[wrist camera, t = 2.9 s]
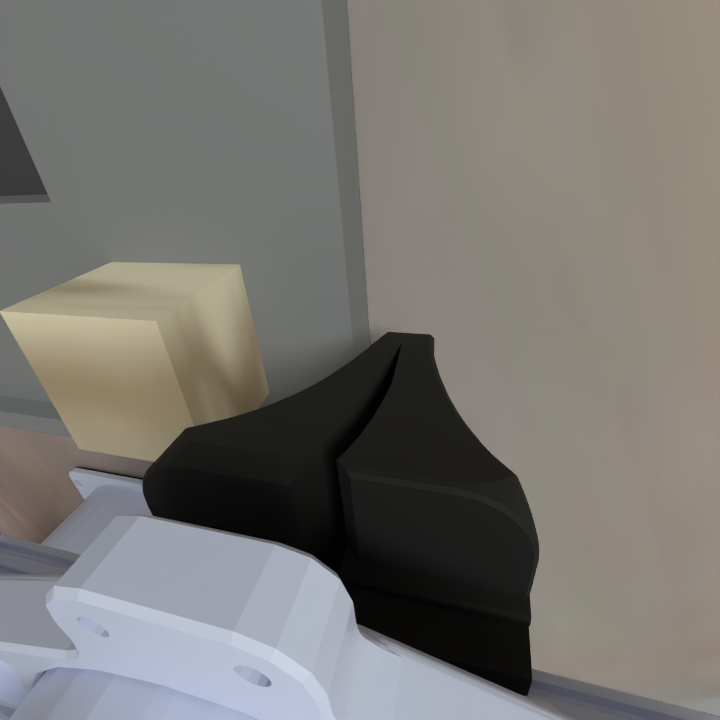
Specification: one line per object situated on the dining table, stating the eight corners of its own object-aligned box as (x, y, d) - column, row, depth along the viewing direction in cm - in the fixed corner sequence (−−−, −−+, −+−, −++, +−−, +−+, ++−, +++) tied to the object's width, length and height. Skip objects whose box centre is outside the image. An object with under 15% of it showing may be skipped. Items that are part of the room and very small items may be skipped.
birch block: (269, 393, 16) (210, 471, 12) (158, 381, 17) (79, 449, 14) (239, 264, 13) (156, 321, 10) (111, 261, 14) (-1, 311, 11)
